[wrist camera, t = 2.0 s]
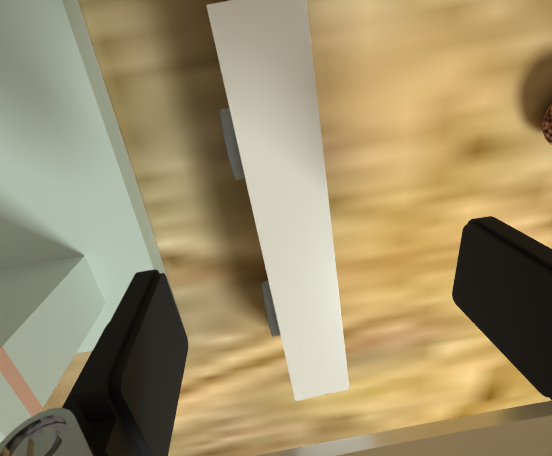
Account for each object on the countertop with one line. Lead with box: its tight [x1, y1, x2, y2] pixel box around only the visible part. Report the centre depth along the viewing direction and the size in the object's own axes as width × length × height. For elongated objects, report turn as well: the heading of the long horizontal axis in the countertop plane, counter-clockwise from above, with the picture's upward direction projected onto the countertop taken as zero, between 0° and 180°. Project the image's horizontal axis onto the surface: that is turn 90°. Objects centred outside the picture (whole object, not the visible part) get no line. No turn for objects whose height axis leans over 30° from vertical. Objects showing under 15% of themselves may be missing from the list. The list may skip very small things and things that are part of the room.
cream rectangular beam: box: [206, 0, 349, 401], centre depth 15 cm, size 18×4×5 cm, turn 10°
